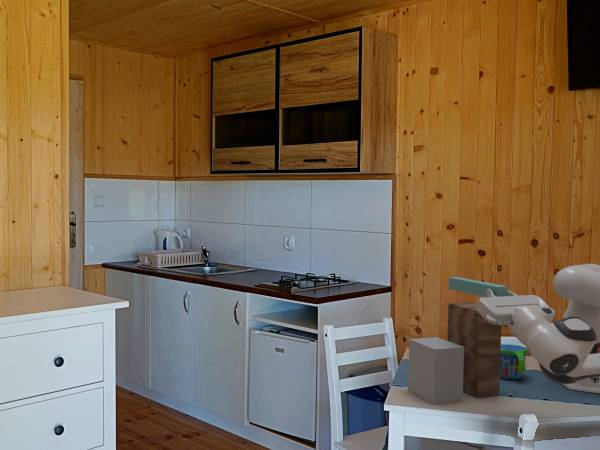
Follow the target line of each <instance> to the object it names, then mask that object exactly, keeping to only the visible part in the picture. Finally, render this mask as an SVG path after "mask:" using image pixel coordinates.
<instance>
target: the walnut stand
mask: <svg viewBox="0 0 600 450" xmlns="http://www.w3.org/2000/svg"><path fill="white" fill-rule="evenodd" d="M476 305H477V303H473V302H470V301H467V302H464V301H463V302H449V303H448V310H447V314H448V315H447V340H446V341H449V342H452V343H454V344H457V345H460V346H463V347H464V369H463V393H466V394H468V395H469V396H472V397H474V398H477V399H479V398H481V399H482V398H489V397H498V396H500V387H501V386H500V384H501V383H500V381H501V377H500V354H501V342H502V325H495V324H491V323H490V322H488V321H487V320H486V319H485V318H484V317H482V316H481V315H480V314H479V313H478V312H477V310H476Z"/></svg>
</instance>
